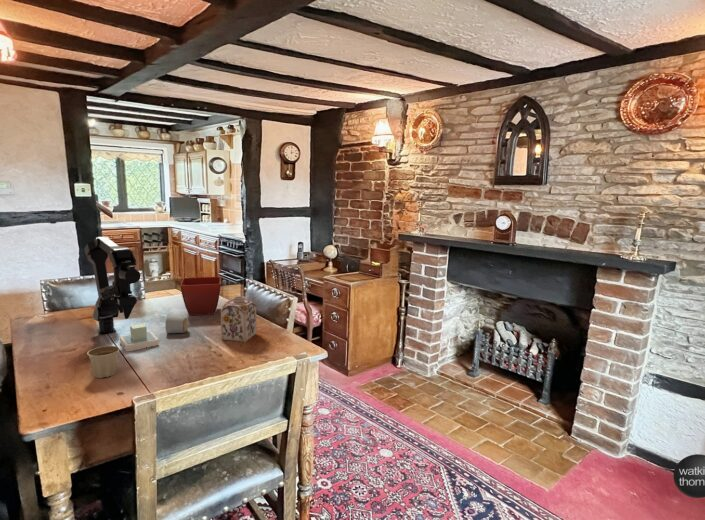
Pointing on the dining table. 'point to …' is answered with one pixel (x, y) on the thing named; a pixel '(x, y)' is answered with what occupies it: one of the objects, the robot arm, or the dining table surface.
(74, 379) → the dining table surface
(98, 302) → the robot arm
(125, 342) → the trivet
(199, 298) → the plant pot
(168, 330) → the ceramic mug
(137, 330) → the cube
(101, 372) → the flower pot
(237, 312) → the decorative jar
